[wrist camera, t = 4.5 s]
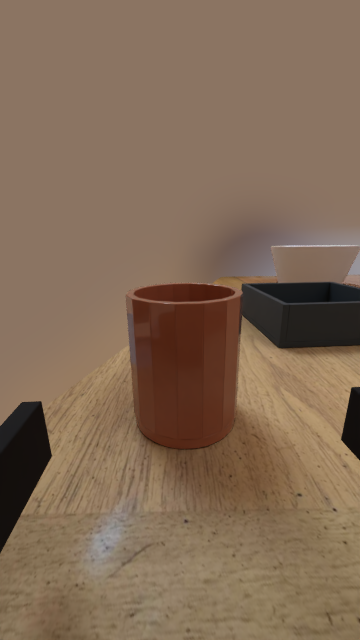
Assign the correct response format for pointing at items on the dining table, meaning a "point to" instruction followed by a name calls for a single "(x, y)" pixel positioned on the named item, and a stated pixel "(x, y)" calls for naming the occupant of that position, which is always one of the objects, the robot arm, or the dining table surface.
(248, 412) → the dining table surface
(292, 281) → the white tapered round pot
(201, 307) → the cup
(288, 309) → the bin
